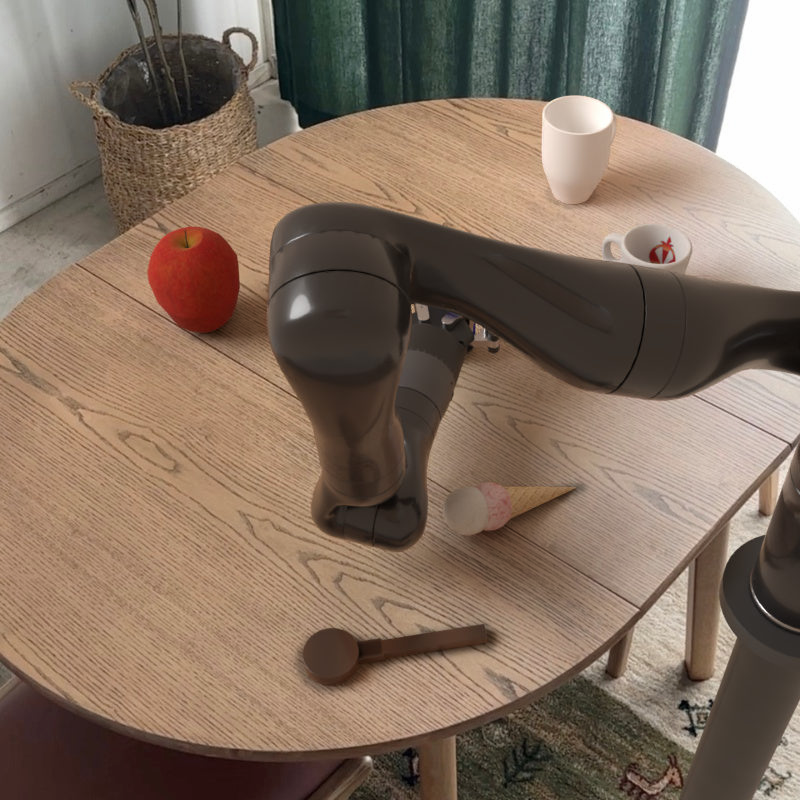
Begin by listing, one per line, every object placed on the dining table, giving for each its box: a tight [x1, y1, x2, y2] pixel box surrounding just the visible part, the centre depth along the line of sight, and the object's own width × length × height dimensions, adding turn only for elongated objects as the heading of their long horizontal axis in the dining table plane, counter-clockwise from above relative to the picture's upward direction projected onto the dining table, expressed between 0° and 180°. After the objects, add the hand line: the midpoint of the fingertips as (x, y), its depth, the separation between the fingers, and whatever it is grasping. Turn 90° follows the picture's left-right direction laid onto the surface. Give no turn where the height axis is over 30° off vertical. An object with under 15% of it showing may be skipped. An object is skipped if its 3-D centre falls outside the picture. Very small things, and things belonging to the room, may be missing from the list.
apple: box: [146, 226, 241, 334], centre depth 122 cm, size 10×10×14 cm
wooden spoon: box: [302, 623, 488, 687], centre depth 95 cm, size 16×5×1 cm, turn 99°
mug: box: [541, 95, 618, 205], centre depth 138 cm, size 12×9×12 cm
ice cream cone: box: [442, 481, 578, 536], centre depth 104 cm, size 5×5×15 cm
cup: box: [600, 222, 693, 274], centre depth 124 cm, size 11×8×8 cm
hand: (457, 274), depth 117 cm, fingers closed on beverage can, 5 cm apart
